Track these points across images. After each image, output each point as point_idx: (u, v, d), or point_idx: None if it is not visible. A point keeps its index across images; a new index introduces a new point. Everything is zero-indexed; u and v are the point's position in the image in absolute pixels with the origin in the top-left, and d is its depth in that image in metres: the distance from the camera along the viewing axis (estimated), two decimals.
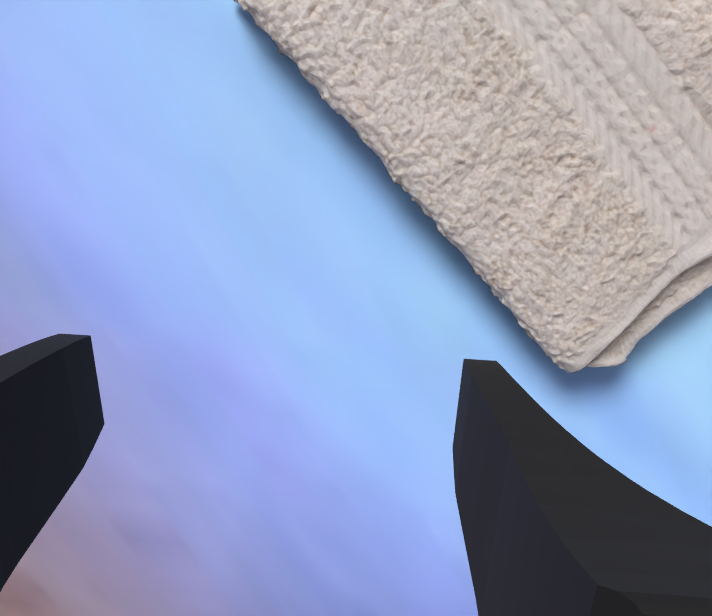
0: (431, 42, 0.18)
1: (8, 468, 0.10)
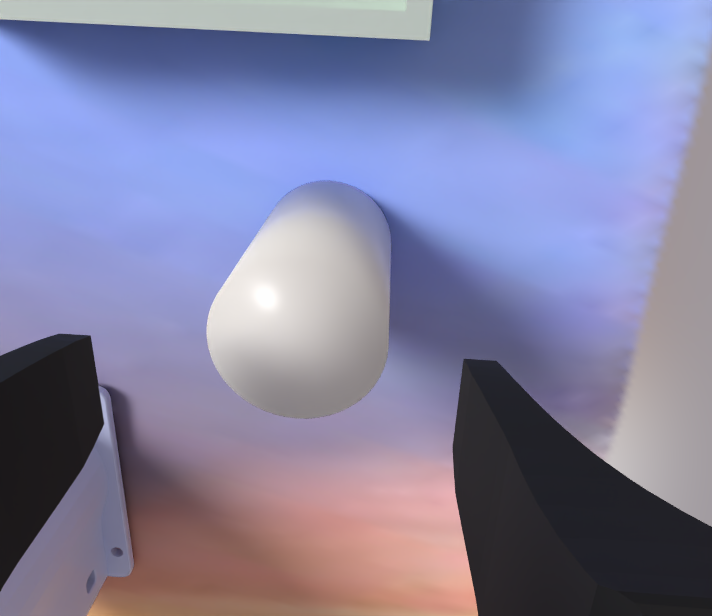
0: None
1: (8, 468, 0.10)
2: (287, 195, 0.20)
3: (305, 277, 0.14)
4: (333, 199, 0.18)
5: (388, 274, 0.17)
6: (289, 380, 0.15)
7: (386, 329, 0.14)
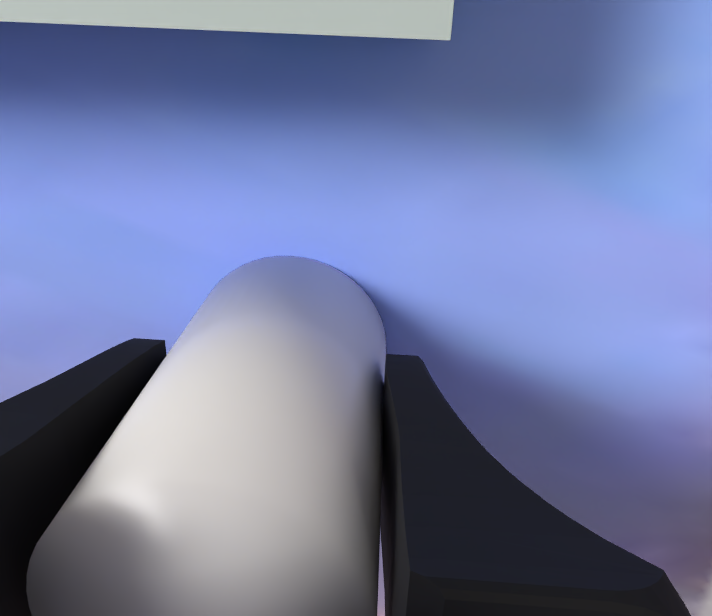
0: None
1: None
2: (225, 280, 0.13)
3: (208, 518, 0.07)
4: (290, 300, 0.11)
5: (379, 435, 0.10)
6: None
7: (372, 604, 0.07)
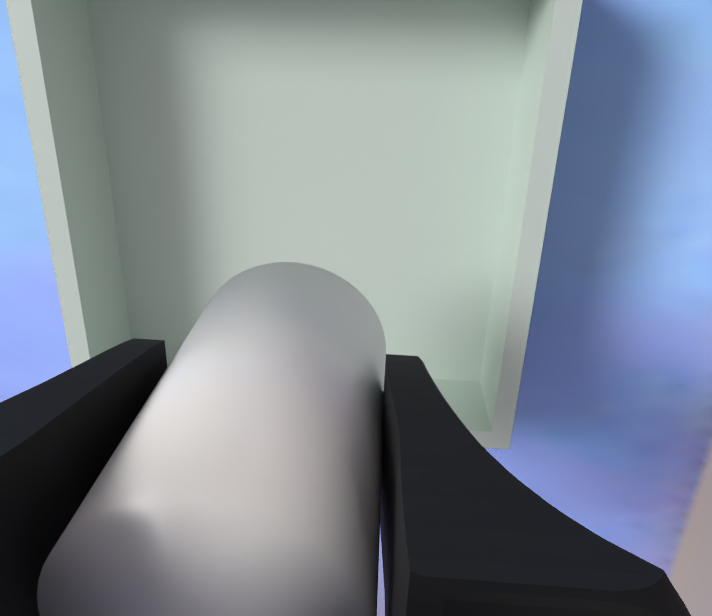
0: None
1: (98, 474, 0.10)
2: (222, 290, 0.13)
3: (203, 533, 0.07)
4: (284, 308, 0.11)
5: (376, 437, 0.10)
6: None
7: (368, 608, 0.07)
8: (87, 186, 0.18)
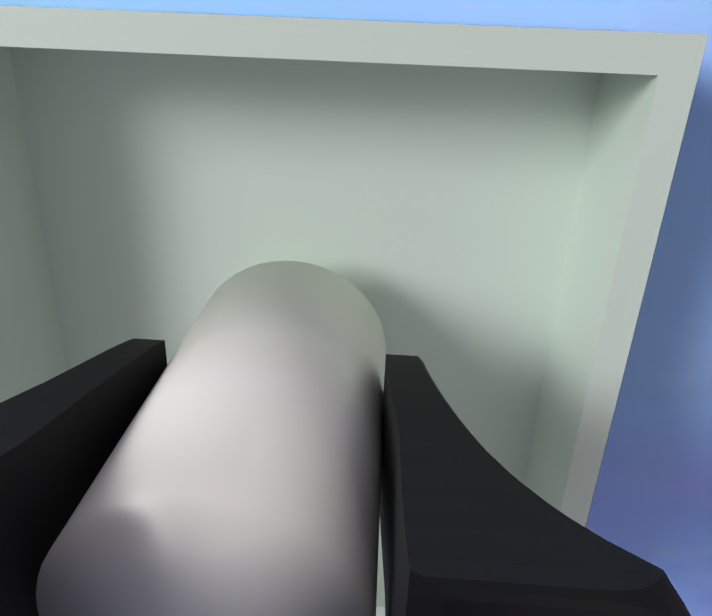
0: None
1: None
2: (221, 289, 0.13)
3: (201, 531, 0.07)
4: (283, 307, 0.11)
5: (376, 435, 0.10)
6: None
7: (368, 606, 0.07)
8: (17, 311, 0.14)
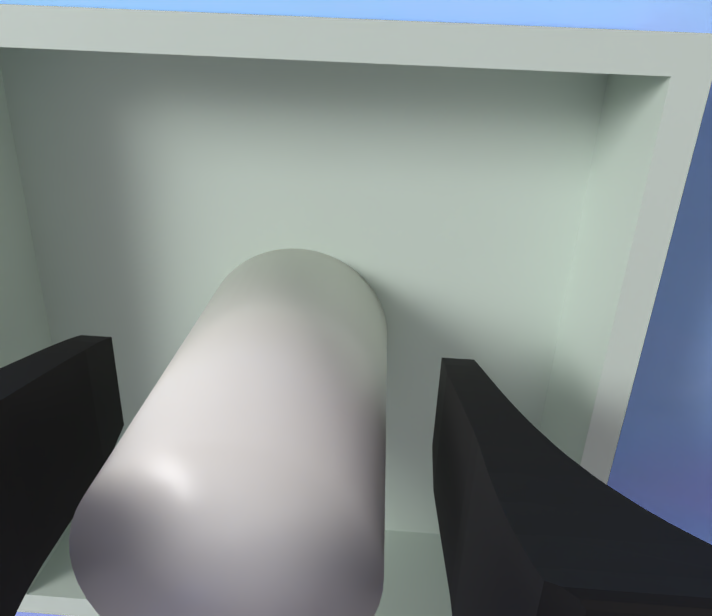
0: None
1: (33, 470, 0.10)
2: (231, 275, 0.14)
3: (225, 475, 0.08)
4: (291, 287, 0.12)
5: (381, 405, 0.11)
6: None
7: (377, 547, 0.08)
8: (6, 319, 0.13)
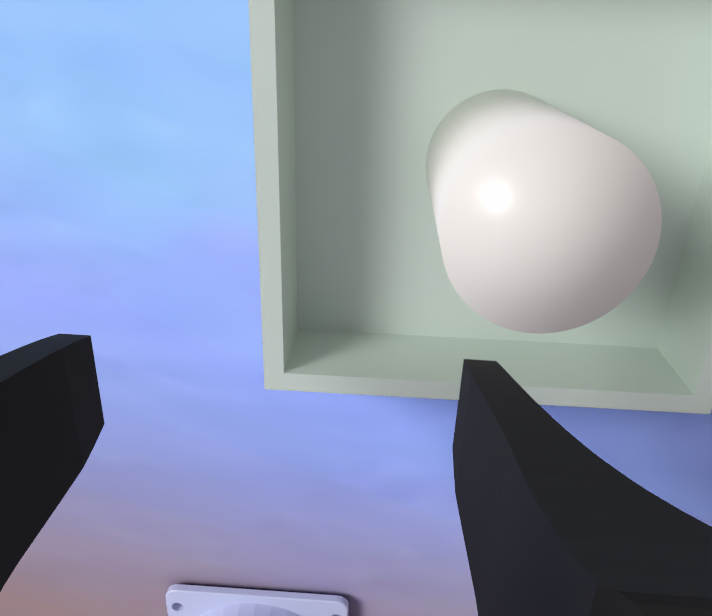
0: None
1: (8, 468, 0.10)
2: (457, 108, 0.17)
3: (567, 153, 0.12)
4: (528, 98, 0.16)
5: None
6: (536, 287, 0.13)
7: (660, 211, 0.12)
8: (287, 142, 0.17)
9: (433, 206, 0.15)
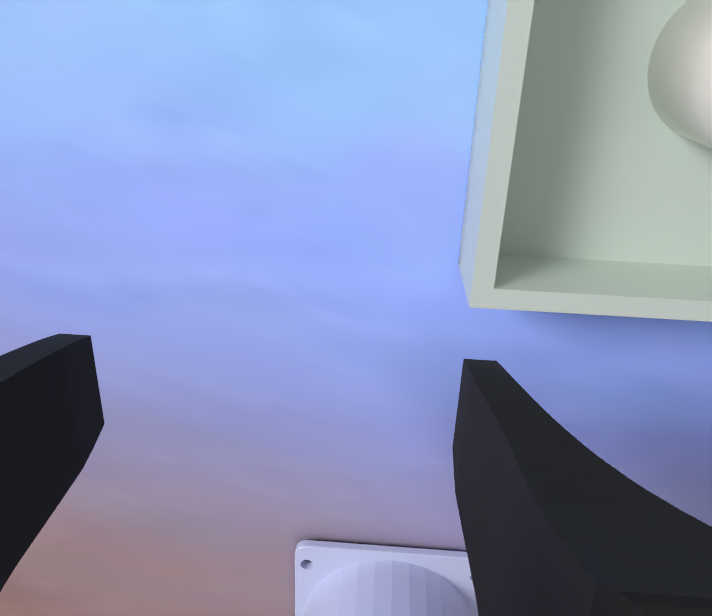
0: None
1: (8, 468, 0.10)
2: None
3: None
4: None
5: None
6: None
7: None
8: None
9: None
